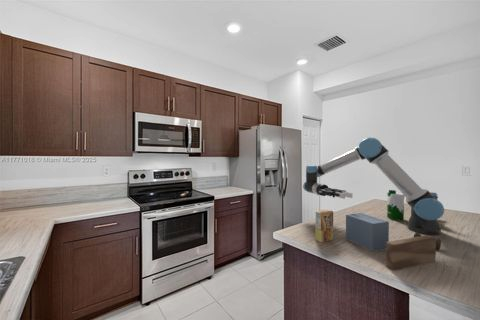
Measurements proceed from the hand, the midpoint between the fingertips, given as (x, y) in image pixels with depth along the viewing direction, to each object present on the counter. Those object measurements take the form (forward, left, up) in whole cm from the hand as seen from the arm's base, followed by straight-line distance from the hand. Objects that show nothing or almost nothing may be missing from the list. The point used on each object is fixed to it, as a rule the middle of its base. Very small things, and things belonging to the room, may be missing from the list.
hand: (348, 195), depth 117 cm
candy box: (+14, +11, -22) cm, 28 cm away
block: (-6, +10, -22) cm, 25 cm away
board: (-17, +29, -22) cm, 40 cm away
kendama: (-31, +11, -22) cm, 40 cm away
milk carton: (-41, -39, -22) cm, 61 cm away
